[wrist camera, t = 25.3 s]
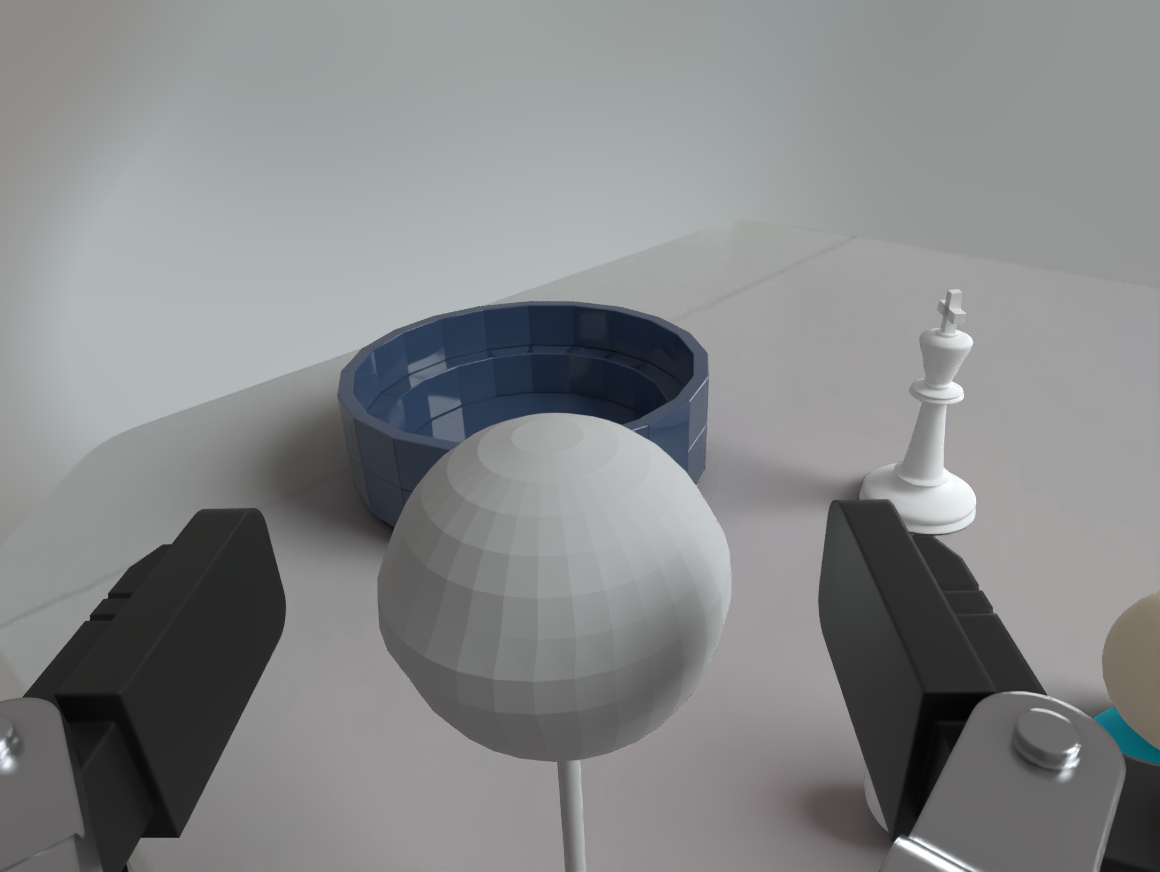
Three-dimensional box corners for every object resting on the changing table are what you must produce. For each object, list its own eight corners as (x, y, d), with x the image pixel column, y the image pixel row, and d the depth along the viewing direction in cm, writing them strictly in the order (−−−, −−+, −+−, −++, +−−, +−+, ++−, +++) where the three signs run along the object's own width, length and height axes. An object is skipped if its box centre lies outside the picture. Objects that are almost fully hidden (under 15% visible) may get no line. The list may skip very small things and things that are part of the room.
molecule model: (1574, 1169, 16) (1893, 892, 12) (959, 1155, 17) (1061, 886, 13) (1195, 704, 27) (1296, 470, 23) (824, 705, 27) (857, 477, 23)
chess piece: (877, 536, 35) (913, 315, 31) (846, 476, 40) (873, 274, 35) (994, 533, 35) (1048, 311, 31) (950, 474, 40) (991, 270, 35)
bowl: (429, 618, 32) (410, 497, 29) (320, 437, 45) (300, 344, 43) (778, 488, 39) (788, 382, 36) (594, 365, 53) (591, 282, 50)
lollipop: (593, 820, 24) (571, 332, 17) (759, 976, 20) (822, 426, 13) (409, 973, 20) (280, 438, 13) (566, 1200, 16) (504, 612, 9)
